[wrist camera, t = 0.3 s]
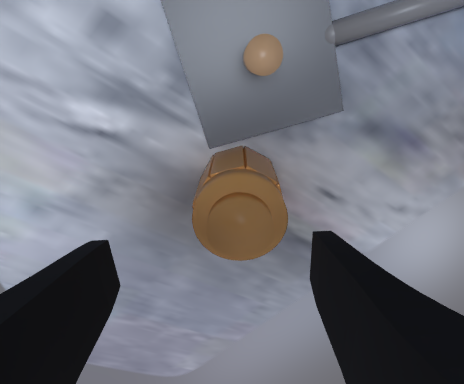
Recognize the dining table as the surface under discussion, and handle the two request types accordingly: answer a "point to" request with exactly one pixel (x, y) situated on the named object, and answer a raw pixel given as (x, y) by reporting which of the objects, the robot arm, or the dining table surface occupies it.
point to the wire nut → (239, 205)
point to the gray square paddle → (272, 58)
